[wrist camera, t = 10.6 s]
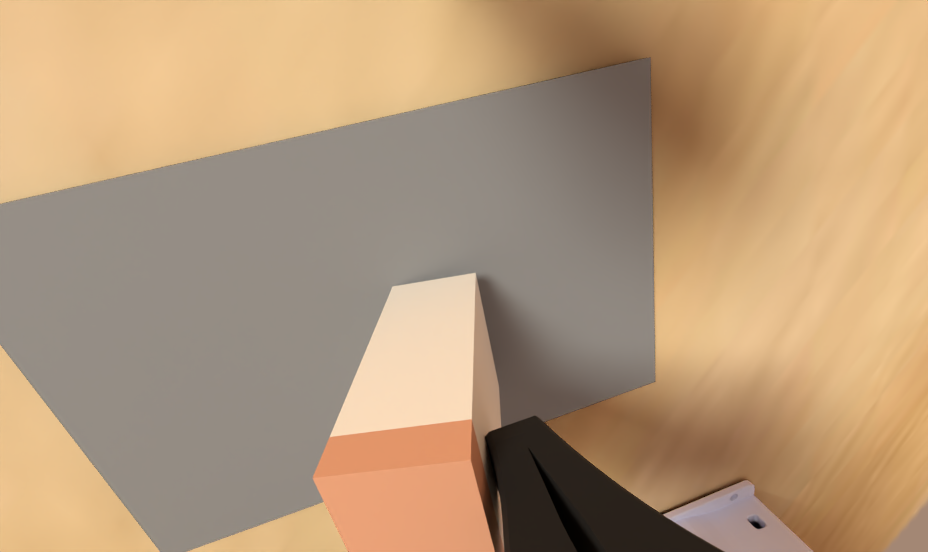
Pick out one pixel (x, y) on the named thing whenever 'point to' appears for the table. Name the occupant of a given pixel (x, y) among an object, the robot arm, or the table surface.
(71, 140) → the table surface
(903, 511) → the table surface
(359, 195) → the slate mat
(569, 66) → the table surface
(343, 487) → the cream block
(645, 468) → the table surface
